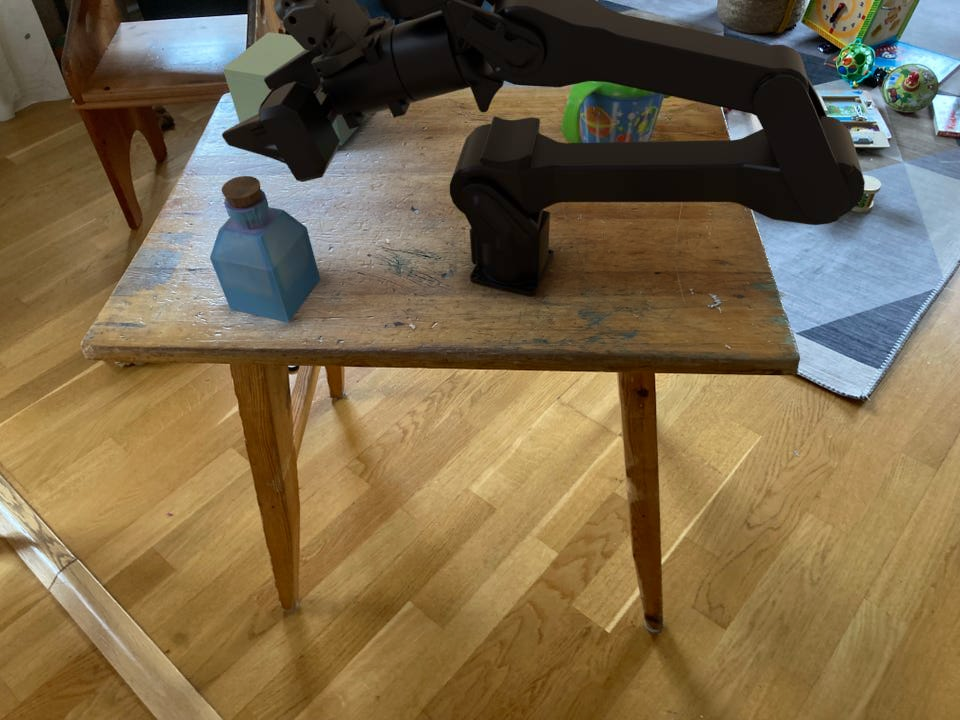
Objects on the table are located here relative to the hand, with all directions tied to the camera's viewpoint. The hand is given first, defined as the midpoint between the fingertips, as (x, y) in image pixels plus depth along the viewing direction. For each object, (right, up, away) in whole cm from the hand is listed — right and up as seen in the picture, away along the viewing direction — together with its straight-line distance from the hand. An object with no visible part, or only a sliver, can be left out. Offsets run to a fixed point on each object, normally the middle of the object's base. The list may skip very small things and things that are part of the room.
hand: (247, 110), depth 63 cm
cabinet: (-1, +8, +27) cm, 28 cm away
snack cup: (+35, +3, +22) cm, 42 cm away
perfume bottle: (+1, -15, +7) cm, 17 cm away
